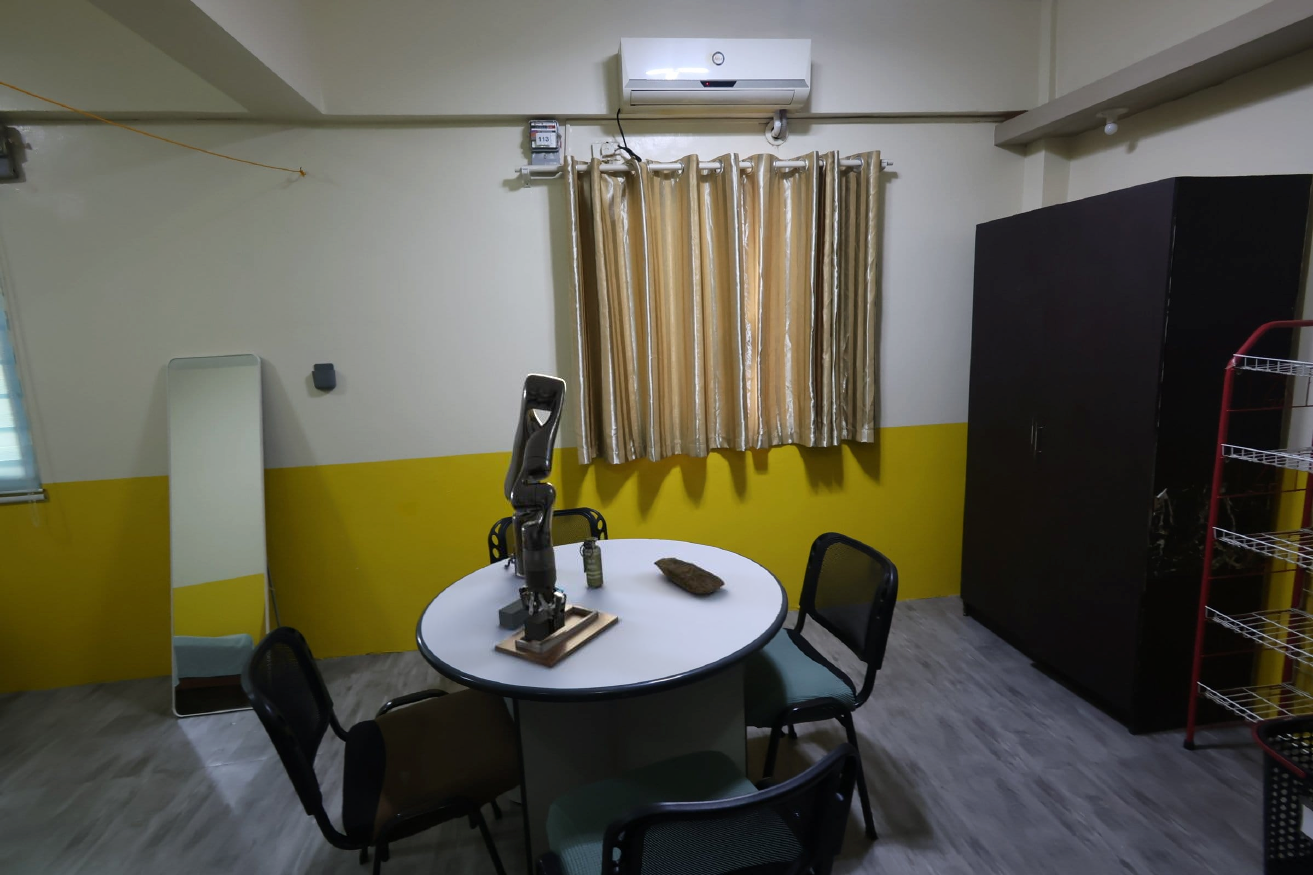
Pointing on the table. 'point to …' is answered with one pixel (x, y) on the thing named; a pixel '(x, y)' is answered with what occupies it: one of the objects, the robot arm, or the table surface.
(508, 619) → the pad
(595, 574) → the grenade
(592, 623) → the mount board
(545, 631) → the pad
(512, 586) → the table surface
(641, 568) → the table surface
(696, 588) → the stone
